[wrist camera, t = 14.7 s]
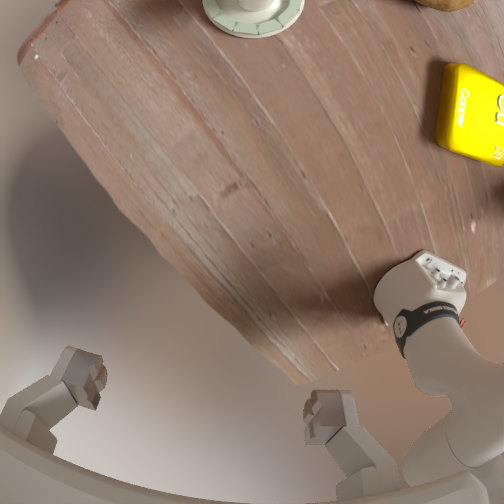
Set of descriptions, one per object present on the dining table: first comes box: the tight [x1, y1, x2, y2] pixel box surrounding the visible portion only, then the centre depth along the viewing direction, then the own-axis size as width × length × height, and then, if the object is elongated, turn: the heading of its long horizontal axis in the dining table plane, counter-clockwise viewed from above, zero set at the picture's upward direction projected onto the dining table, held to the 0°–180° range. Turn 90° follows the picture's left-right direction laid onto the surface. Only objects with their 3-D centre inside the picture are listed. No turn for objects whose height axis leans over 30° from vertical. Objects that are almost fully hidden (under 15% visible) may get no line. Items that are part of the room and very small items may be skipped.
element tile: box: [435, 63, 504, 167], centre depth 33 cm, size 15×15×5 cm
